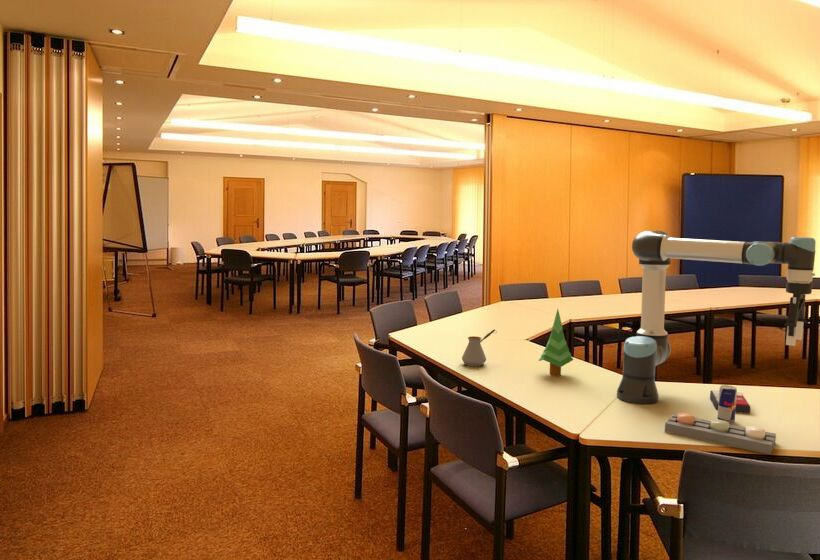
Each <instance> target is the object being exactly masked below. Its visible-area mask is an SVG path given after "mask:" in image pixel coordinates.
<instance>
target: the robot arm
mask: <svg viewBox="0 0 820 560" xmlns="http://www.w3.org/2000/svg"><path fill="white" fill-rule="evenodd" d="M816 242H817V241H816V239H815V238H813V237H806V236H792V237H790V240H789V241H787V242H781V241H780V242H779V241H764V240H761V241H738V240H736V241H735V240H733V241H732V240H716V239H700V238H683V237H682V238H680V237H672V236H671V235H670V234H669V233H668V232H665V231H662V230H657V229H656V230H644V231H641V232H639V233H638V234H637V235H636V236H635V237H634V238H633V240H632V243H631V251H632V252H633V255H634V256H635V257H636V258H638V265H639V266H640V267H641V268H642V279H641V280H642V283H641V310H640V311H641V313H640V315H641V316H640V317H641V318H640V327H639V329H638V330H637V331H636V336H631V337H627V338H626V339H625V340H624V345H623V359H622V378H621V380H620V382H619V385H618V387H617V389H616V397H617V398H618V399H619V400H621V401H624V402H626V403H627V402H628V403H633V404H638V405H651V404H652V405H653V404H656V403H658V402H659V395H660V394H659V392H658V388H657V384H656V379H655V378H656V367H657V366H658V365H661V364H663V363H664V362H666V360H667V359H668V358H669V357H670V355H671V352H672V351H671V344H670V341H669V340H668V336H669V335H668V334H669V333H668V332H667V331H666V330H665V311H666V310H665V304H666V303H665V302H666V284H667V283H666V280H667V279H666V275H667V269H668V268H669V267H670V266H671V262H672V261H671V259H677V260H678V259H679V260H691V261H701V262H704V261H706V262H719V263H733V264H743V265H744V264H745V265H753V266H761V267H762V266H766V265H768V264H778V265H779V264H783V265H787V270H786V280H787V282H786V284H785V292H786V293H788V294H792V296H791V297H790V298H789V307H788V314H787V319H786V322H785V323H784V327H786V339H785V346H793V347H796V342H797V340H798V341H803V333H804V322H807V318H806V295H811V294H812V290H813V284H812V283H811V282H813V278H814V277H815V276H816V274H815V272H814V269H815V259H816Z"/></svg>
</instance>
